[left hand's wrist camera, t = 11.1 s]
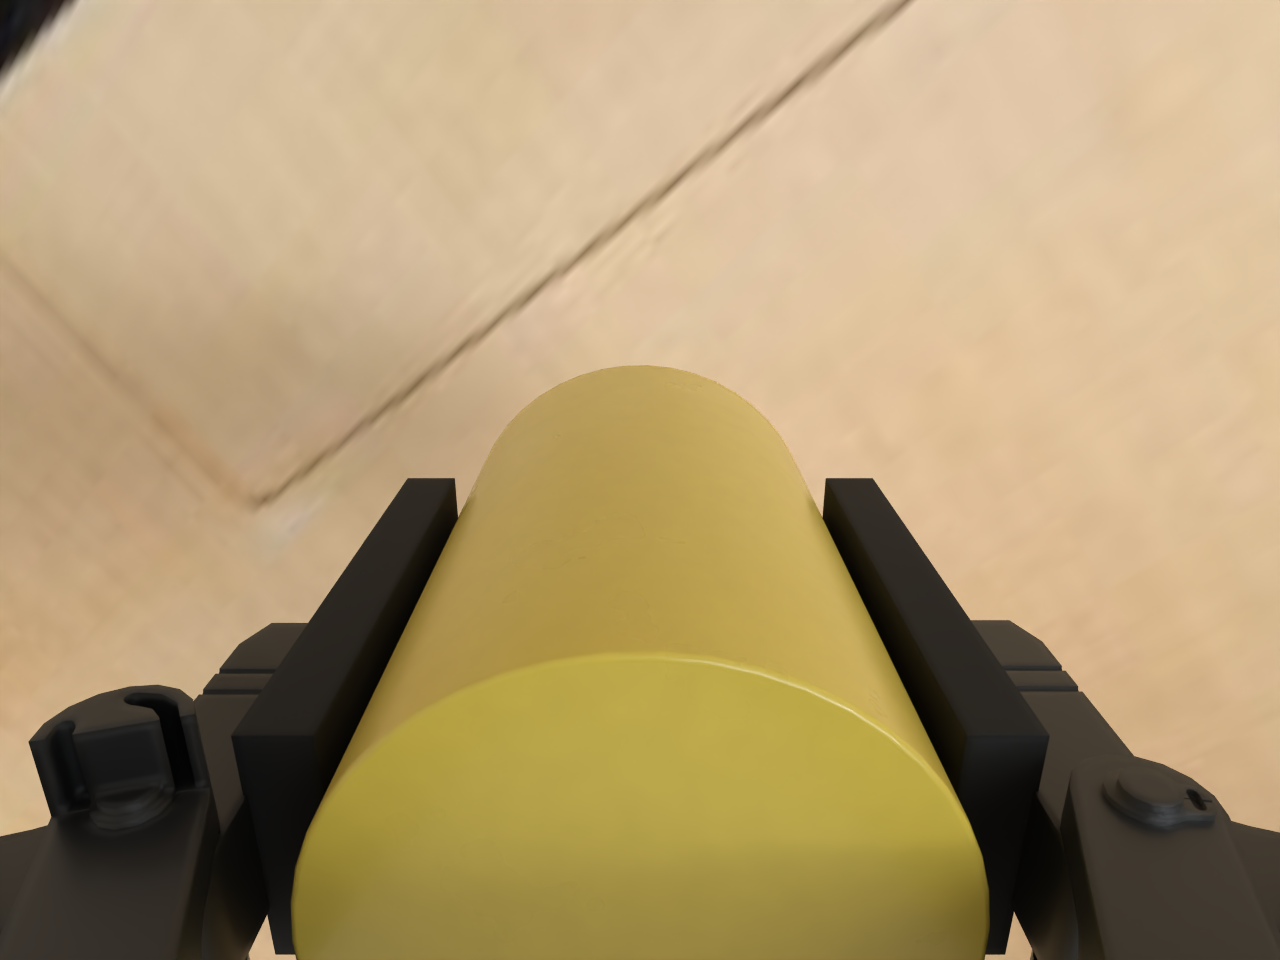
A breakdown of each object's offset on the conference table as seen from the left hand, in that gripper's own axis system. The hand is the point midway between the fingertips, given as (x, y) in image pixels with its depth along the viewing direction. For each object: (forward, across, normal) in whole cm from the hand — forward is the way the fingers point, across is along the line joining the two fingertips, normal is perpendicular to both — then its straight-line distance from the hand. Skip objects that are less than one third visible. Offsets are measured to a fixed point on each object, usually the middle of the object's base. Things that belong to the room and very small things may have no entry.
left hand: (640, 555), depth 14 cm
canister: (+1, 0, 0) cm, 1 cm away
